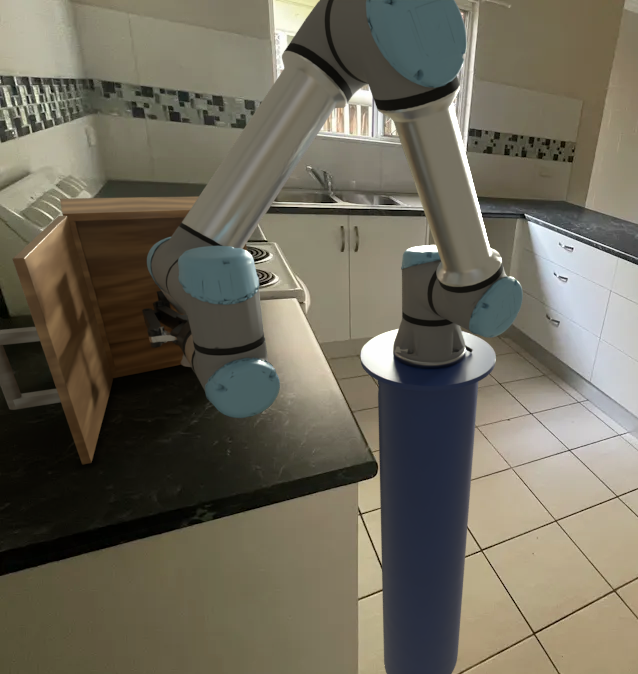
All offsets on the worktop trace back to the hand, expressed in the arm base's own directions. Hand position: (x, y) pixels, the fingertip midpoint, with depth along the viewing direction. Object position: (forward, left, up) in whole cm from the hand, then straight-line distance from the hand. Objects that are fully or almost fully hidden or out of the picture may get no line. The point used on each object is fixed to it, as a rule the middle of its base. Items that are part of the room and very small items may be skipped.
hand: (180, 296), depth 81 cm
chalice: (-2, +5, -10) cm, 11 cm away
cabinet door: (+12, +14, -15) cm, 24 cm away
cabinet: (+5, -11, -15) cm, 19 cm away
